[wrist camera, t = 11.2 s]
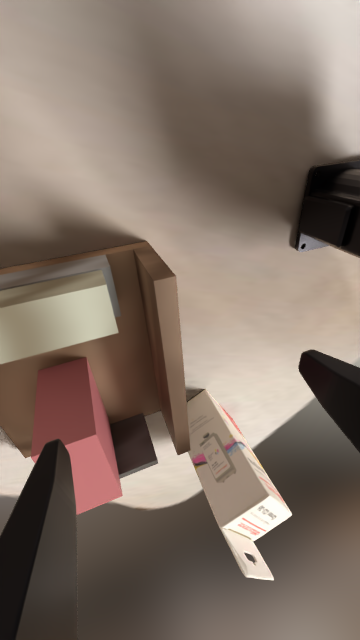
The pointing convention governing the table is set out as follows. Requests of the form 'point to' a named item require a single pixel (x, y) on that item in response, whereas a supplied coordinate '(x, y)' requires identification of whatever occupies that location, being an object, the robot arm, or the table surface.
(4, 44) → the table surface
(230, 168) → the table surface
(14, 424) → the shelf
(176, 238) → the table surface
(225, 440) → the ink cartridge box
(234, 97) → the table surface
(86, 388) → the tall dusty pink block
